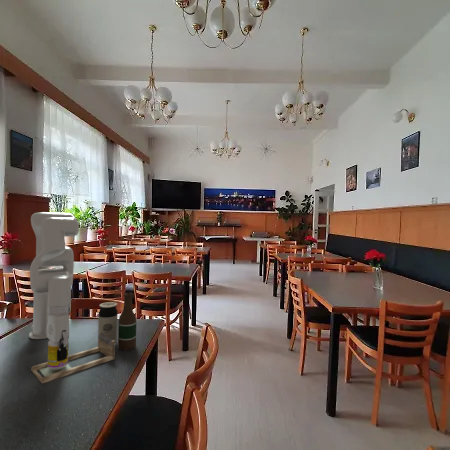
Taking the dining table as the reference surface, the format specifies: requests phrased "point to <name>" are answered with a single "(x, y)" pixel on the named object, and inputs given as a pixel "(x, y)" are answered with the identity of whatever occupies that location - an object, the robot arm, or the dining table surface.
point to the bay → (104, 346)
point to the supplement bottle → (55, 356)
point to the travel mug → (108, 320)
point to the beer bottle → (127, 325)
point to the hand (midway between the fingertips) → (58, 356)
